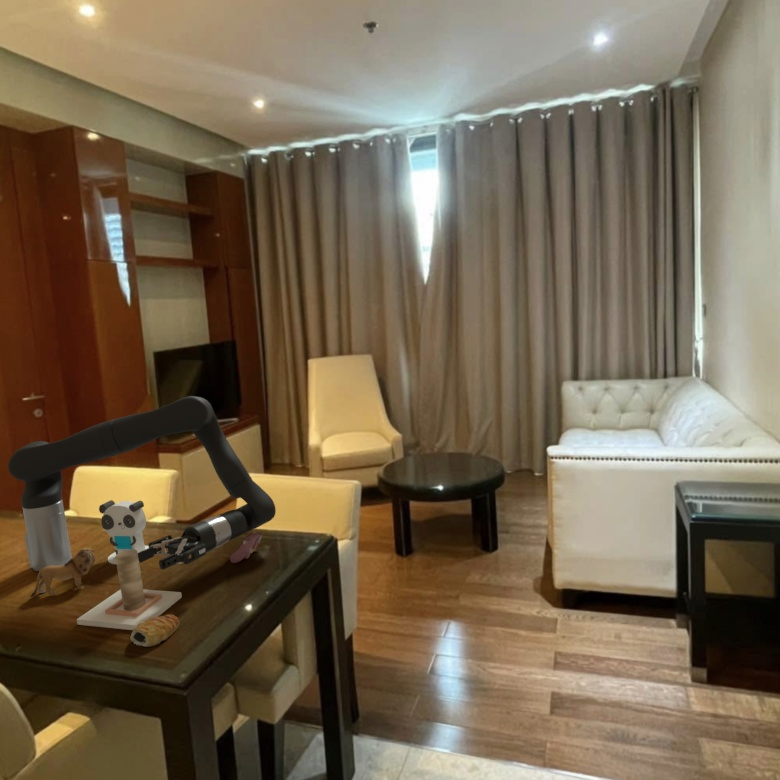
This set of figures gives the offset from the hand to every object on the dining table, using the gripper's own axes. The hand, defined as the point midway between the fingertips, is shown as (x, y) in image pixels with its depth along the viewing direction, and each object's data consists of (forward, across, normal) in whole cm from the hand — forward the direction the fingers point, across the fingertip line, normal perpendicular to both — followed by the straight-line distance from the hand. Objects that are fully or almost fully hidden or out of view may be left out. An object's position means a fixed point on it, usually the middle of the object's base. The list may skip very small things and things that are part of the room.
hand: (149, 561), depth 134 cm
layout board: (+5, -1, +9) cm, 11 cm away
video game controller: (-27, +1, +10) cm, 28 cm away
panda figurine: (-13, -30, +10) cm, 34 cm away
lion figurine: (+6, -26, +10) cm, 28 cm away
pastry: (+9, +13, +10) cm, 19 cm away
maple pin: (+5, 0, +8) cm, 9 cm away
